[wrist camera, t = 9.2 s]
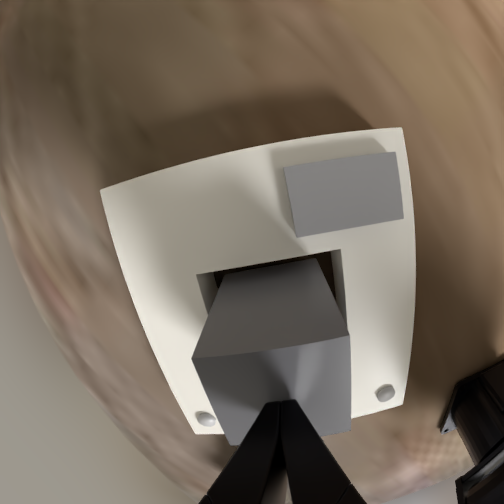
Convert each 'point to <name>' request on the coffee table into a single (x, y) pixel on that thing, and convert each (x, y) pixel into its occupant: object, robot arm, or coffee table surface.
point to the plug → (276, 349)
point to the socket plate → (275, 249)
